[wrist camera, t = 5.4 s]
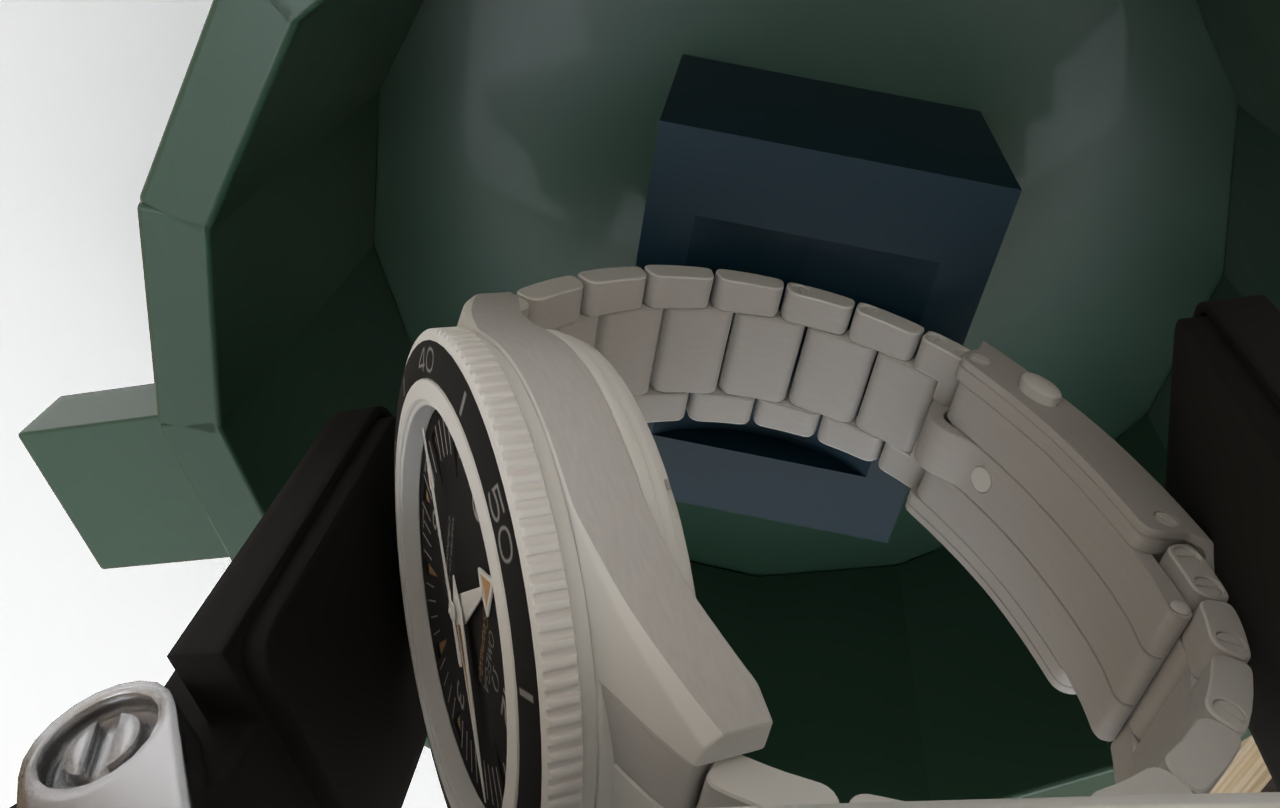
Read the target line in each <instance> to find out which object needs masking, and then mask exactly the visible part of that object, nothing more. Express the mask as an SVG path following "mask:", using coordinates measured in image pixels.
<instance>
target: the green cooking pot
mask: <svg viewBox="0 0 1280 808" xmlns="http://www.w3.org/2000/svg"><path fill="white" fill-rule="evenodd" d="M682 54H684V55H689V56H694V57H700V58H705V59H710V60H715V61H721V62H726V63H731V64H736V65H742V66H747V67H752V68H757V69H762V70H768V71H773V72H778V73H783V74H789V75H794V76H799V77H804V78H810V79H815V80H820V81H825V82H830V83H836V84H841V85H846V86H851V87H857V88H862V89H867V90H872V91H878V92H883V93H888V94H893V95H898V96H904V97H909V98H914V99H919V100H925V101H930V102H935V103H940V104H946V105H951V106H956V107H961V108H966V109H972V110H977V111H980V112H981V113H982V115H983V117H984V119H985V121H986V123H987V125H988V127H989V129H990V130H991V132H992V134H993V136H994V138H995V140H996V142H997V144H998V146H999V148H1000V149H1001V151H1002V153H1003V155H1004V157H1005V159H1006V161H1007V163H1008V165H1009V166H1010V168H1011V170H1012V172H1013V174H1014V176H1015V178H1016V180H1017V182H1018V183H1019V185H1020V187H1021V189H1022V191H1021V194H1020V197H1019V199H1018V202H1017V205H1016V207H1015V210H1014V213H1013V215H1012V218H1011V220H1010V223H1009V226H1008V228H1007V231H1006V234H1005V236H1004V239H1003V241H1002V244H1001V247H1000V249H999V252H998V255H997V257H996V260H995V262H994V265H993V268H992V270H991V273H990V276H989V278H988V281H987V283H986V286H985V289H984V291H983V294H982V297H981V299H980V302H979V304H978V307H977V310H976V312H975V315H974V318H973V320H972V323H971V325H970V328H969V331H968V333H967V336H966V339H965V341H964V344H963V346H964V347H966V348H967V349H969V350H971V351H972V350H976V349H979V348H980V346H981V343H982V342H983V341H985V342H987V343H988V344H990V345H991V346H993V347H994V348H996V349H997V350H999V351H1000V352H1001V353H1003V354H1004V355H1006V356H1007V357H1009V358H1010V359H1012V360H1013V361H1014V362H1016V363H1017V364H1019V365H1020V366H1022V367H1023V368H1024V369H1026V370H1027V371H1028V372H1030V373H1034V374H1037V375H1040V376H1042V377H1044V378H1046V379H1047V380H1049V381H1050V382H1052V383H1053V384H1054V385H1055V386H1056V387H1057V388H1058V389H1059V390H1060V392H1061V395H1062V397H1063V398H1064V399H1066V400H1067V401H1068V402H1069V403H1071V404H1072V405H1073V406H1074V407H1076V408H1077V409H1078V410H1079V411H1081V412H1082V413H1083V414H1084V415H1086V416H1087V417H1088V418H1089V419H1090V420H1092V421H1093V422H1094V423H1095V424H1096V425H1098V426H1099V427H1100V428H1101V429H1102V430H1103V431H1104V432H1106V433H1107V434H1108V435H1109V436H1110V437H1111V438H1112V439H1114V440H1115V441H1116V442H1117V443H1118V444H1119V445H1120V446H1121V447H1122V448H1123V449H1124V450H1125V451H1126V452H1128V453H1129V454H1130V455H1131V456H1132V457H1133V458H1134V459H1135V460H1136V461H1137V462H1138V463H1139V464H1140V465H1141V466H1142V467H1143V468H1144V469H1145V470H1146V471H1147V472H1148V473H1149V474H1150V475H1151V476H1152V477H1153V478H1154V479H1155V480H1156V481H1157V482H1158V483H1159V484H1160V485H1161V486H1162V487H1163V488H1164V489H1165V480H1166V463H1167V446H1168V429H1169V412H1170V394H1171V377H1172V360H1173V343H1174V331H1175V326H1176V323H1177V321H1178V320H1179V319H1182V318H1190V317H1193V315H1194V311H1195V308H1196V306H1197V305H1198V304H1199V303H1200V302H1205V301H1213V300H1221V299H1228V298H1236V297H1244V296H1252V295H1264V296H1266V297H1267V298H1268V299H1269V300H1270V301H1271V302H1272V303H1273V304H1274V305H1275V307H1276V308H1277V309H1278V310H1279V311H1280V0H213V3H212V5H211V8H210V11H209V13H208V16H207V19H206V21H205V24H204V27H203V29H202V32H201V35H200V37H199V40H198V43H197V45H196V48H195V51H194V53H193V56H192V59H191V61H190V64H189V67H188V69H187V72H186V75H185V77H184V80H183V83H182V85H181V88H180V91H179V93H178V96H177V99H176V101H175V104H174V107H173V109H172V112H171V115H170V117H169V120H168V123H167V125H166V128H165V131H164V133H163V136H162V139H161V141H160V144H159V147H158V149H157V152H156V155H155V157H154V160H153V163H152V165H151V168H150V171H149V173H148V176H147V179H146V181H145V184H144V187H143V189H142V192H141V196H140V200H141V202H140V203H139V205H138V218H139V228H140V238H141V249H142V259H143V269H144V279H145V289H146V300H147V310H148V320H149V330H150V340H151V351H152V361H153V371H154V381H155V383H154V384H147V385H140V386H132V387H125V388H118V389H111V390H103V391H96V392H89V393H82V394H74V395H67V396H61V397H60V398H58V399H57V400H56V401H55V402H54V403H53V404H52V405H51V406H49V407H48V408H47V409H46V410H45V411H44V412H43V413H42V414H40V415H39V416H38V417H37V418H36V419H35V420H34V421H33V422H31V423H30V424H29V425H28V426H27V427H26V428H25V429H24V430H22V431H21V432H20V433H19V438H20V439H21V441H22V442H23V444H24V446H25V447H26V449H27V450H28V452H29V454H30V455H31V457H32V458H33V460H34V462H35V463H36V465H37V466H38V468H39V469H40V471H41V473H42V474H43V476H44V477H45V479H46V481H47V482H48V484H49V485H50V487H51V489H52V490H53V492H54V493H55V495H56V497H57V498H58V500H59V501H60V503H61V505H62V506H63V508H64V509H65V511H66V513H67V514H68V516H69V517H70V519H71V521H72V522H73V524H74V525H75V527H76V529H77V530H78V532H79V533H80V535H81V536H82V538H83V540H84V541H85V543H86V544H87V546H88V548H89V549H90V551H91V552H92V554H93V556H94V557H95V559H96V560H97V562H98V564H99V565H100V567H101V568H103V569H108V568H119V567H129V566H140V565H150V564H161V563H171V562H182V561H192V560H203V559H213V558H224V557H230V558H231V560H232V561H233V559H234V558H235V556H236V555H237V553H238V552H239V550H240V549H241V547H242V546H243V545H244V543H245V542H246V540H247V539H248V537H249V536H250V534H251V533H252V531H253V530H254V528H255V527H256V525H257V524H258V523H259V521H260V520H261V518H262V517H263V515H264V514H265V512H266V511H267V509H268V508H269V506H270V505H271V504H272V502H273V501H274V499H275V498H276V496H277V495H278V493H279V492H280V490H281V489H282V487H283V486H284V485H285V483H286V482H287V480H288V479H289V477H290V476H291V474H292V473H293V471H294V470H295V468H296V467H297V466H298V464H299V463H300V461H301V460H302V458H303V457H304V455H305V454H306V452H307V451H308V449H309V448H310V446H311V445H312V444H313V442H314V441H315V439H316V438H317V436H318V435H319V433H320V432H321V430H322V429H323V427H324V426H325V425H326V423H327V422H328V420H329V419H330V417H331V416H332V415H333V414H334V413H335V412H339V411H345V410H353V409H361V408H369V407H377V406H383V407H385V408H387V409H388V410H389V411H390V413H391V414H392V416H396V413H397V405H398V397H399V391H400V386H401V381H402V377H403V373H404V370H405V366H406V362H407V359H408V356H409V354H410V350H411V349H412V346H413V345H414V342H415V341H416V340H417V338H418V337H419V336H420V334H421V333H423V332H424V331H426V330H427V329H430V328H442V327H456V326H457V324H458V321H459V318H460V315H461V312H462V309H463V306H464V304H465V303H466V302H467V301H468V300H469V299H471V298H472V297H473V296H475V295H476V294H482V293H499V292H511V293H513V294H515V295H517V291H518V290H519V289H521V288H524V287H527V286H530V285H533V284H536V283H539V282H543V281H546V280H550V279H554V278H558V277H563V276H574V277H576V278H577V277H578V274H579V273H580V272H582V271H588V270H595V269H604V268H614V267H635V265H636V259H637V253H638V247H639V241H640V235H641V229H642V223H643V217H644V211H645V205H646V199H647V193H648V187H649V181H650V175H651V169H652V163H653V157H654V151H655V145H656V139H657V133H658V127H659V121H660V118H661V115H662V112H663V109H664V106H665V103H666V101H667V98H668V95H669V92H670V89H671V86H672V83H673V80H674V77H675V74H676V72H677V69H678V66H679V63H680V60H681V57H682ZM910 490H911V488H910V487H909V488H908V491H907V494H906V496H905V499H904V501H903V504H902V507H901V509H900V512H899V515H898V517H897V520H896V523H895V525H894V528H893V530H892V533H891V536H890V538H889V541H888V543H884V542H879V541H874V540H869V539H864V538H859V537H854V536H849V535H844V534H839V533H834V532H829V531H824V530H819V529H814V528H809V527H804V526H799V525H794V524H789V523H784V522H779V521H774V520H769V519H764V518H759V517H754V516H749V515H744V514H739V513H734V512H729V511H724V510H719V509H714V508H709V507H704V506H699V505H694V504H689V503H684V502H678V501H675V502H676V505H677V508H678V512H679V516H680V520H681V524H682V528H683V532H684V537H685V541H686V546H687V550H688V555H689V560H690V565H691V570H692V576H693V582H694V588H695V595H696V599H697V600H698V602H699V603H700V605H701V606H702V608H703V609H704V610H705V612H706V613H707V615H708V616H709V617H710V619H711V620H712V622H713V623H714V624H715V626H716V627H717V629H718V630H719V631H720V633H721V634H722V636H723V637H724V638H725V640H726V641H727V643H728V644H729V645H730V647H731V648H732V649H733V651H734V652H735V654H736V655H737V656H738V658H739V659H740V660H741V662H742V663H743V664H744V666H745V667H746V668H747V670H748V671H749V672H750V674H751V675H752V676H753V678H754V679H755V680H756V682H757V684H758V686H759V688H760V691H761V693H762V696H763V698H764V701H765V703H766V706H767V708H768V711H769V713H770V716H771V718H772V721H773V723H772V726H771V729H770V732H769V735H768V738H767V741H766V744H765V747H764V748H762V749H760V750H756V751H753V752H749V753H745V754H742V755H743V756H745V757H748V758H750V759H753V760H756V761H758V762H761V763H763V764H765V765H768V766H770V767H773V768H776V769H779V770H782V771H784V772H787V773H790V774H794V775H797V776H800V777H803V778H806V779H810V780H813V781H816V782H819V783H822V784H824V785H826V786H827V787H829V788H830V789H831V790H832V791H833V792H834V793H835V795H836V796H837V798H838V800H839V803H849V802H850V800H851V799H852V798H853V797H854V796H856V795H859V794H872V795H877V796H882V797H887V798H891V799H896V800H901V801H937V800H972V799H1007V798H1042V797H1077V796H1092V794H1093V793H1095V792H1096V791H1098V790H1101V789H1103V788H1106V787H1109V786H1112V785H1114V784H1115V779H1114V768H1113V758H1112V753H1111V744H1112V742H1113V741H1110V742H1108V741H1104V740H1101V739H1099V738H1098V737H1097V736H1096V735H1095V734H1094V733H1093V731H1092V729H1091V726H1090V724H1089V721H1088V719H1087V716H1086V714H1085V712H1084V709H1083V707H1082V704H1081V702H1080V700H1079V698H1078V696H1077V694H1067V693H1063V692H1061V691H1059V690H1057V689H1056V688H1055V687H1053V686H1052V685H1051V683H1050V682H1049V681H1048V679H1047V677H1046V676H1045V674H1044V673H1043V671H1042V670H1041V668H1040V666H1039V665H1038V663H1037V662H1036V660H1035V659H1034V657H1033V656H1032V654H1031V653H1030V651H1029V650H1028V648H1027V646H1026V645H1025V644H1024V642H1023V641H1022V639H1021V638H1020V636H1019V635H1018V633H1017V632H1016V631H1015V629H1014V628H1013V626H1012V625H1011V624H1010V622H1009V621H1008V620H1007V618H1006V617H1005V615H1004V614H1003V613H1002V612H1001V610H1000V609H999V608H998V606H997V605H996V604H995V602H994V601H993V600H992V599H991V597H990V596H989V595H988V594H987V592H986V591H985V590H984V589H983V588H982V586H981V585H980V584H979V583H978V582H977V581H976V580H975V579H974V577H973V576H972V575H971V574H970V573H969V572H968V571H967V570H966V569H965V567H964V566H963V565H962V564H961V563H960V562H959V561H958V560H957V559H956V558H955V557H954V556H953V555H952V554H951V553H950V552H949V551H948V550H947V549H946V548H945V547H944V545H943V544H942V543H941V542H940V541H938V540H937V539H936V538H935V537H934V536H933V535H932V534H931V533H930V532H929V531H928V530H927V529H926V528H925V527H924V526H923V525H922V524H921V523H920V522H919V521H918V520H917V519H916V518H914V517H913V516H912V515H911V514H910V513H909V512H908V511H907V509H906V506H905V505H906V502H907V497H908V495H909V492H910ZM1250 736H1252V735H1251V733H1250V730H1249V728H1248V729H1247V731H1246V732H1245V733H1244V735H1243V736H1242V737H1241V742H1242V741H1243V740H1245V739H1247V738H1248V737H1250ZM424 746H426V747H428V748H430V744H429V740H428V737H427V738H426V741H425V744H424ZM430 749H431V748H430Z"/></svg>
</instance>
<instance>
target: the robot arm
mask: <svg viewBox="0 0 1280 808" xmlns="http://www.w3.org/2000/svg"><path fill="white" fill-rule="evenodd" d="M395 425H396V416H392V414H391V413H390V411H389V410H388V409H387V408H385V407H383V406H377V407H369V408H361V409H353V410H345V411H339V412H335V413H334V414H333V415H332V416H331V417H330V419H329V420H328V422H327V423H326V425H325V426H324V427H323V429H322V430H321V432H320V433H319V435H318V436H317V438H316V439H315V441H314V442H313V444H312V445H311V446H310V448H309V449H308V451H307V452H306V454H305V455H304V457H303V458H302V460H301V461H300V463H299V464H298V466H297V467H296V468H295V470H294V471H293V473H292V474H291V476H290V477H289V479H288V480H287V482H286V483H285V485H284V486H283V487H282V489H281V490H280V492H279V493H278V495H277V496H276V498H275V499H274V501H273V502H272V504H271V505H270V506H269V508H268V509H267V511H266V512H265V514H264V515H263V517H262V518H261V520H260V521H259V523H258V524H257V525H256V527H255V528H254V530H253V531H252V533H251V534H250V536H249V537H248V539H247V540H246V542H245V543H244V545H243V546H242V547H241V549H240V550H239V552H238V553H237V555H236V556H235V558H234V559H233V561H232V562H231V564H230V565H229V566H228V568H227V569H226V571H225V572H224V574H223V575H222V577H221V578H220V580H219V581H218V583H217V584H216V585H215V587H214V588H213V590H212V591H211V593H210V594H209V596H208V597H207V599H206V600H205V602H204V603H203V604H202V606H201V607H200V609H199V610H198V612H197V613H196V615H195V616H194V618H193V619H192V621H191V622H190V624H189V625H188V626H187V628H186V629H185V631H184V632H183V634H182V635H181V637H180V638H179V640H178V641H177V643H176V644H175V645H174V647H173V648H172V650H171V651H170V653H169V654H168V656H167V657H168V659H169V660H170V662H171V663H172V665H173V667H174V668H175V672H174V673H173V675H172V676H171V678H170V679H169V681H168V682H167V684H166V685H165V687H164V686H162V685H160V684H159V683H157V682H147V681H136V682H130V683H124V684H119V685H116V686H114V687H111V688H108V689H106V690H103V691H100V692H98V693H95V694H94V695H92V696H90V697H88V698H87V699H85V700H83V701H81V702H80V703H78V704H76V705H74V706H73V707H71V708H70V709H69V710H68V711H66V712H65V713H64V714H62V715H61V716H60V717H59V718H57V719H56V720H55V721H53V722H52V723H51V724H50V725H49V726H48V727H47V729H46V730H45V731H44V732H43V733H42V734H41V735H40V736H39V737H38V738H37V739H36V740H35V742H34V743H33V745H32V746H31V748H30V750H29V751H28V753H27V754H26V756H25V758H24V759H23V762H22V766H21V769H20V773H19V777H18V791H17V804H15V805H14V806H12V807H10V808H401V807H402V804H403V802H404V799H405V796H406V793H407V791H408V788H409V785H410V782H411V780H412V777H413V774H414V771H415V769H416V766H417V763H418V760H419V758H420V755H421V752H422V749H423V747H424V744H425V741H426V738H427V732H426V728H425V723H424V719H423V715H422V710H421V705H420V701H419V696H418V691H417V686H416V680H415V675H414V670H413V664H412V659H411V653H410V647H409V641H408V634H407V628H406V621H405V613H404V606H403V598H402V589H401V581H400V570H399V560H398V548H397V536H396V520H395V498H394V443H395ZM1165 490H1166V491H1167V492H1168V493H1169V494H1170V495H1171V496H1172V497H1173V498H1174V499H1175V501H1176V502H1177V503H1178V504H1179V505H1180V506H1181V507H1182V508H1183V509H1184V510H1185V511H1186V512H1187V513H1188V515H1189V516H1190V517H1191V518H1192V519H1193V520H1194V521H1195V522H1196V523H1197V525H1198V526H1199V527H1200V528H1201V529H1202V530H1203V531H1204V532H1205V534H1206V535H1207V536H1208V537H1209V538H1210V539H1211V541H1212V542H1213V544H1214V552H1213V555H1214V573H1215V575H1216V576H1217V578H1218V579H1219V580H1220V582H1221V583H1222V585H1223V586H1224V588H1225V590H1226V591H1227V593H1228V596H1229V599H1228V601H1227V603H1228V604H1230V605H1231V606H1232V607H1233V608H1234V610H1235V611H1236V613H1237V615H1238V617H1239V619H1240V621H1241V624H1242V626H1243V629H1244V631H1245V634H1246V638H1247V641H1248V645H1249V648H1250V653H1251V659H1250V660H1249V661H1248V663H1247V665H1249V667H1250V668H1251V670H1252V673H1253V690H1254V696H1253V707H1252V713H1251V718H1250V723H1249V726H1248V728H1249V730H1250V733H1251V735H1252V737H1253V739H1254V741H1255V743H1256V745H1257V747H1258V749H1259V752H1260V754H1261V756H1262V758H1263V760H1264V762H1265V764H1266V766H1267V768H1268V771H1269V773H1270V775H1271V777H1272V779H1273V781H1274V783H1275V785H1276V787H1277V790H1278V792H1259V793H1212V794H1148V795H1112V796H1077V797H1042V798H1007V799H972V800H937V801H901V802H866V803H835V804H805V805H775V806H744V807H714V808H1280V311H1279V310H1278V309H1277V308H1276V307H1275V305H1274V304H1273V303H1272V302H1271V301H1270V300H1269V299H1268V298H1267V297H1266V296H1264V295H1252V296H1244V297H1236V298H1228V299H1221V300H1213V301H1205V302H1200V303H1199V304H1198V305H1197V306H1196V308H1195V311H1194V315H1193V317H1190V318H1182V319H1179V320H1178V321H1177V323H1176V326H1175V331H1174V343H1173V360H1172V377H1171V394H1170V412H1169V429H1168V446H1167V463H1166V480H1165Z"/></svg>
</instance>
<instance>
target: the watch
mask: <svg viewBox="0 0 1280 808" xmlns="http://www.w3.org/2000/svg"><path fill="white" fill-rule="evenodd" d="M1021 191H1022V189H1021V187H1020V185H1019V183H1018V182H1017V180H1016V178H1015V176H1014V174H1013V172H1012V170H1011V168H1010V166H1009V165H1008V163H1007V161H1006V159H1005V157H1004V155H1003V153H1002V151H1001V149H1000V148H999V146H998V144H997V142H996V140H995V138H994V136H993V134H992V132H991V130H990V129H989V127H988V125H987V123H986V121H985V119H984V117H983V115H982V113H981V112H980V111H977V110H972V109H966V108H961V107H956V106H951V105H946V104H940V103H935V102H930V101H925V100H919V99H914V98H909V97H904V96H898V95H893V94H888V93H883V92H878V91H872V90H867V89H862V88H857V87H851V86H846V85H841V84H836V83H830V82H825V81H820V80H815V79H810V78H804V77H799V76H794V75H789V74H783V73H778V72H773V71H768V70H762V69H757V68H752V67H747V66H742V65H736V64H731V63H726V62H721V61H715V60H710V59H705V58H700V57H694V56H689V55H684V54H682V57H681V60H680V63H679V66H678V69H677V72H676V74H675V77H674V80H673V83H672V86H671V89H670V92H669V95H668V98H667V101H666V103H665V106H664V109H663V112H662V115H661V118H660V121H659V127H658V133H657V139H656V145H655V151H654V157H653V163H652V169H651V175H650V181H649V187H648V193H647V199H646V205H645V211H644V217H643V223H642V229H641V235H640V241H639V247H638V253H637V259H636V265H635V267H614V268H604V269H595V270H588V271H582V272H580V273H579V274H578V277H577V278H576V277H574V276H563V277H558V278H554V279H550V280H546V281H543V282H539V283H536V284H533V285H530V286H527V287H524V288H521V289H519V290H518V291H517V295H515V294H513V293H511V292H499V293H482V294H476V295H475V296H473V297H472V298H471V299H469V300H468V301H467V302H466V303H465V304H464V306H463V309H462V312H461V315H460V318H459V321H458V324H457V326H456V327H442V328H430V329H427V330H426V331H424V332H423V333H421V334H420V336H419V337H418V338H417V340H416V341H415V342H414V345H413V346H412V349H411V350H410V354H409V356H408V359H407V362H406V366H405V370H404V373H403V377H402V381H401V386H400V391H399V397H398V405H397V413H396V425H395V443H394V498H395V520H396V536H397V548H398V560H399V570H400V581H401V589H402V598H403V606H404V613H405V621H406V628H407V634H408V641H409V647H410V653H411V659H412V664H413V670H414V675H415V680H416V686H417V691H418V696H419V701H420V705H421V710H422V715H423V719H424V723H425V728H426V732H427V737H428V740H429V744H430V748H431V752H432V756H433V760H434V764H435V767H436V771H437V774H438V778H439V781H440V785H441V788H442V791H443V794H444V798H445V801H446V804H447V807H448V808H714V807H744V806H775V805H805V804H835V803H839V800H838V798H837V796H836V795H835V793H834V792H833V791H832V790H831V789H830V788H829V787H827V786H826V785H824V784H822V783H819V782H816V781H813V780H810V779H806V778H803V777H800V776H797V775H794V774H790V773H787V772H784V771H782V770H779V769H776V768H773V767H770V766H768V765H765V764H763V763H761V762H758V761H756V760H753V759H750V758H748V757H745V756H743V755H742V754H745V753H749V752H753V751H756V750H760V749H762V748H764V747H765V744H766V741H767V738H768V735H769V732H770V729H771V726H772V723H773V721H772V718H771V716H770V713H769V711H768V708H767V706H766V703H765V701H764V698H763V696H762V693H761V691H760V688H759V686H758V684H757V682H756V680H755V679H754V678H753V676H752V675H751V674H750V672H749V671H748V670H747V668H746V667H745V666H744V664H743V663H742V662H741V660H740V659H739V658H738V656H737V655H736V654H735V652H734V651H733V649H732V648H731V647H730V645H729V644H728V643H727V641H726V640H725V638H724V637H723V636H722V634H721V633H720V631H719V630H718V629H717V627H716V626H715V624H714V623H713V622H712V620H711V619H710V617H709V616H708V615H707V613H706V612H705V610H704V609H703V608H702V606H701V605H700V603H699V602H698V600H697V599H696V595H695V588H694V582H693V576H692V570H691V565H690V560H689V555H688V550H687V546H686V541H685V537H684V532H683V528H682V524H681V520H680V516H679V512H678V508H677V505H676V502H675V501H678V502H684V503H689V504H694V505H699V506H704V507H709V508H714V509H719V510H724V511H729V512H734V513H739V514H744V515H749V516H754V517H759V518H764V519H769V520H774V521H779V522H784V523H789V524H794V525H799V526H804V527H809V528H814V529H819V530H824V531H829V532H834V533H839V534H844V535H849V536H854V537H859V538H864V539H869V540H874V541H879V542H884V543H888V541H889V538H890V536H891V533H892V530H893V528H894V525H895V523H896V520H897V517H898V515H899V512H900V509H901V507H902V504H903V501H904V499H905V496H906V494H907V491H908V488H909V487H910V488H911V490H910V492H909V495H908V497H907V502H906V505H905V506H906V509H907V511H908V512H909V513H910V514H911V515H912V516H913V517H914V518H916V519H917V520H918V521H919V522H920V523H921V524H922V525H923V526H924V527H925V528H926V529H927V530H928V531H929V532H930V533H931V534H932V535H933V536H934V537H935V538H936V539H937V540H938V541H940V542H941V543H942V544H943V545H944V547H945V548H946V549H947V550H948V551H949V552H950V553H951V554H952V555H953V556H954V557H955V558H956V559H957V560H958V561H959V562H960V563H961V564H962V565H963V566H964V567H965V569H966V570H967V571H968V572H969V573H970V574H971V575H972V576H973V577H974V579H975V580H976V581H977V582H978V583H979V584H980V585H981V586H982V588H983V589H984V590H985V591H986V592H987V594H988V595H989V596H990V597H991V599H992V600H993V601H994V602H995V604H996V605H997V606H998V608H999V609H1000V610H1001V612H1002V613H1003V614H1004V615H1005V617H1006V618H1007V620H1008V621H1009V622H1010V624H1011V625H1012V626H1013V628H1014V629H1015V631H1016V632H1017V633H1018V635H1019V636H1020V638H1021V639H1022V641H1023V642H1024V644H1025V645H1026V646H1027V648H1028V650H1029V651H1030V653H1031V654H1032V656H1033V657H1034V659H1035V660H1036V662H1037V663H1038V665H1039V666H1040V668H1041V670H1042V671H1043V673H1044V674H1045V676H1046V677H1047V679H1048V681H1049V682H1050V683H1051V685H1052V686H1053V687H1055V688H1056V689H1057V690H1059V691H1061V692H1063V693H1067V694H1077V696H1078V698H1079V700H1080V702H1081V704H1082V707H1083V709H1084V712H1085V714H1086V716H1087V719H1088V721H1089V724H1090V726H1091V729H1092V731H1093V733H1094V734H1095V735H1096V736H1097V737H1098V738H1099V739H1101V740H1104V741H1108V742H1110V741H1113V742H1112V744H1111V753H1112V758H1113V768H1114V779H1115V784H1114V785H1112V786H1109V787H1106V788H1103V789H1101V790H1098V791H1096V792H1095V793H1093V794H1092V796H1112V795H1148V794H1209V793H1210V792H1211V790H1212V789H1213V788H1214V786H1215V785H1216V784H1217V782H1218V781H1219V780H1220V778H1221V777H1222V776H1223V774H1224V773H1225V771H1226V770H1227V769H1228V767H1229V766H1230V765H1231V763H1232V762H1233V760H1234V758H1235V756H1236V755H1237V753H1238V751H1239V749H1240V747H1241V737H1242V736H1243V735H1244V733H1245V732H1246V731H1247V729H1248V726H1249V723H1250V718H1251V713H1252V707H1253V696H1254V690H1253V673H1252V670H1251V668H1250V667H1249V665H1247V663H1248V661H1249V660H1250V659H1251V653H1250V648H1249V645H1248V641H1247V638H1246V634H1245V631H1244V629H1243V626H1242V624H1241V621H1240V619H1239V617H1238V615H1237V613H1236V611H1235V610H1234V608H1233V607H1232V606H1231V605H1230V604H1228V603H1227V601H1228V599H1229V596H1228V593H1227V591H1226V590H1225V588H1224V586H1223V585H1222V583H1221V582H1220V580H1219V579H1218V578H1217V576H1216V575H1215V573H1214V555H1213V552H1214V544H1213V542H1212V541H1211V539H1210V538H1209V537H1208V536H1207V535H1206V534H1205V532H1204V531H1203V530H1202V529H1201V528H1200V527H1199V526H1198V525H1197V523H1196V522H1195V521H1194V520H1193V519H1192V518H1191V517H1190V516H1189V515H1188V513H1187V512H1186V511H1185V510H1184V509H1183V508H1182V507H1181V506H1180V505H1179V504H1178V503H1177V502H1176V501H1175V499H1174V498H1173V497H1172V496H1171V495H1170V494H1169V493H1168V492H1167V491H1166V490H1165V489H1164V488H1163V487H1162V486H1161V485H1160V484H1159V483H1158V482H1157V481H1156V480H1155V479H1154V478H1153V477H1152V476H1151V475H1150V474H1149V473H1148V472H1147V471H1146V470H1145V469H1144V468H1143V467H1142V466H1141V465H1140V464H1139V463H1138V462H1137V461H1136V460H1135V459H1134V458H1133V457H1132V456H1131V455H1130V454H1129V453H1128V452H1126V451H1125V450H1124V449H1123V448H1122V447H1121V446H1120V445H1119V444H1118V443H1117V442H1116V441H1115V440H1114V439H1112V438H1111V437H1110V436H1109V435H1108V434H1107V433H1106V432H1104V431H1103V430H1102V429H1101V428H1100V427H1099V426H1098V425H1096V424H1095V423H1094V422H1093V421H1092V420H1090V419H1089V418H1088V417H1087V416H1086V415H1084V414H1083V413H1082V412H1081V411H1079V410H1078V409H1077V408H1076V407H1074V406H1073V405H1072V404H1071V403H1069V402H1068V401H1067V400H1066V399H1064V398H1063V397H1062V395H1061V392H1060V390H1059V389H1058V388H1057V387H1056V386H1055V385H1054V384H1053V383H1052V382H1050V381H1049V380H1047V379H1046V378H1044V377H1042V376H1040V375H1037V374H1034V373H1030V372H1028V371H1027V370H1026V369H1024V368H1023V367H1022V366H1020V365H1019V364H1017V363H1016V362H1014V361H1013V360H1012V359H1010V358H1009V357H1007V356H1006V355H1004V354H1003V353H1001V352H1000V351H999V350H997V349H996V348H994V347H993V346H991V345H990V344H988V343H987V342H985V341H983V342H982V343H981V346H980V348H979V349H976V350H972V351H971V350H969V349H967V348H966V347H964V346H963V344H964V341H965V339H966V336H967V333H968V331H969V328H970V325H971V323H972V320H973V318H974V315H975V312H976V310H977V307H978V304H979V302H980V299H981V297H982V294H983V291H984V289H985V286H986V283H987V281H988V278H989V276H990V273H991V270H992V268H993V265H994V262H995V260H996V257H997V255H998V252H999V249H1000V247H1001V244H1002V241H1003V239H1004V236H1005V234H1006V231H1007V228H1008V226H1009V223H1010V220H1011V218H1012V215H1013V213H1014V210H1015V207H1016V205H1017V202H1018V199H1019V197H1020V194H1021ZM866 802H901V800H896V799H891V798H887V797H882V796H877V795H872V794H859V795H856V796H854V797H853V798H852V799H851V800H850V802H849V803H866Z"/></svg>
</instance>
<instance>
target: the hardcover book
mask: <svg viewBox="0 0 1280 808" xmlns="http://www.w3.org/2000/svg"><path fill="white" fill-rule="evenodd" d="M1259 792H1278V790H1277V787H1276V785H1275V783H1274V781H1273V779H1272V777H1271V775H1270V773H1269V771H1268V768H1267V766H1266V764H1265V762H1264V760H1263V758H1262V756H1261V754H1260V752H1259V749H1258V747H1257V745H1256V743H1255V741H1254V739H1253V737H1252V736H1250V737H1248V738H1247V739H1245V740H1243V741H1242V742H1241V747H1240V749H1239V751H1238V753H1237V755H1236V756H1235V758H1234V760H1233V762H1232V763H1231V765H1230V766H1229V767H1228V769H1227V770H1226V771H1225V773H1224V774H1223V776H1222V777H1221V778H1220V780H1219V781H1218V782H1217V784H1216V785H1215V786H1214V788H1213V789H1212V790H1211V792H1210V793H1209V794H1212V793H1259Z"/></svg>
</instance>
